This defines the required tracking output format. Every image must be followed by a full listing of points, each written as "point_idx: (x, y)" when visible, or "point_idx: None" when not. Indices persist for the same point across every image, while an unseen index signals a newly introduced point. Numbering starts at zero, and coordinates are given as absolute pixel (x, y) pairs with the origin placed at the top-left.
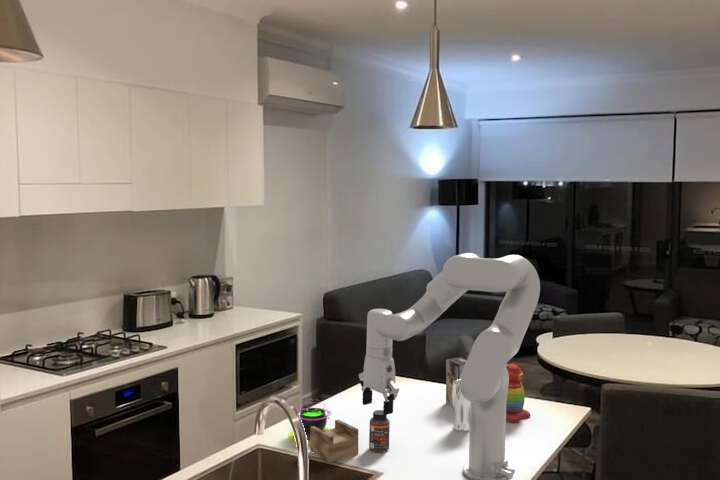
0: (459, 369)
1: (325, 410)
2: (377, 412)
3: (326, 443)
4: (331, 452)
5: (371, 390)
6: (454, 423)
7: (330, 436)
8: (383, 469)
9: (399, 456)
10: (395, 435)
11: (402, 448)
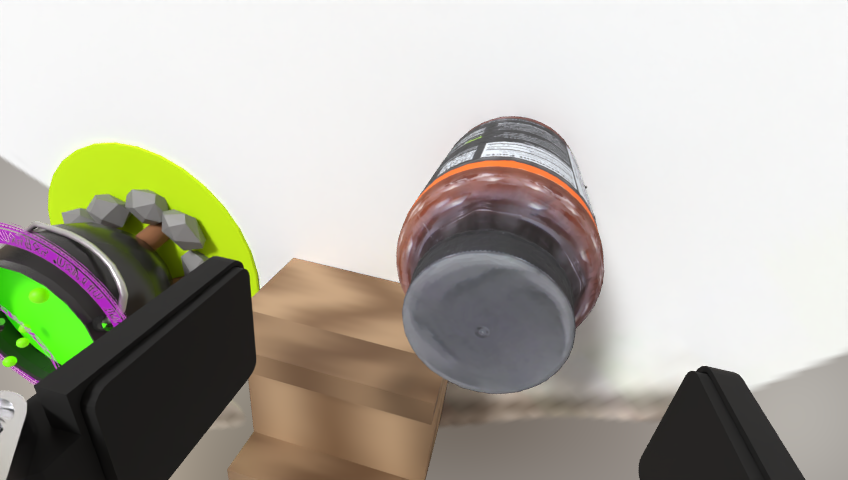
0: None
1: (9, 240)
2: (471, 355)
3: None
4: (430, 456)
5: (74, 412)
6: None
7: None
8: (701, 365)
9: (694, 179)
10: None
11: (636, 49)
